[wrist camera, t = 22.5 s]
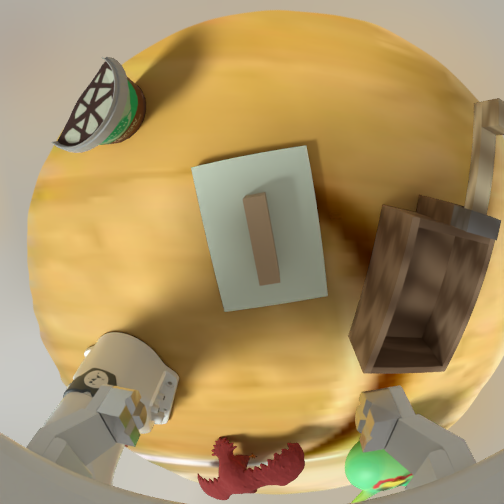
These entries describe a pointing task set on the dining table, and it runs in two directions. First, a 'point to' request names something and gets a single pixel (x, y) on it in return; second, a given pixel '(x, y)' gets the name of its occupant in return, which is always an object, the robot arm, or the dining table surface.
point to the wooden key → (483, 153)
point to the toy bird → (374, 472)
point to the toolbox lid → (262, 228)
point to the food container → (104, 111)
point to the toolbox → (421, 286)
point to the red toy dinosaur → (251, 471)
